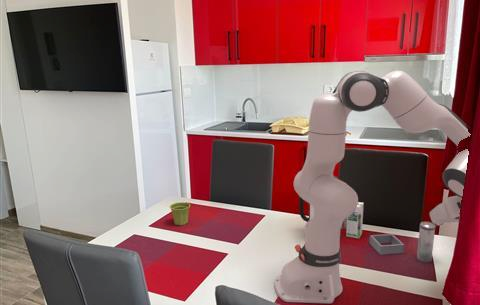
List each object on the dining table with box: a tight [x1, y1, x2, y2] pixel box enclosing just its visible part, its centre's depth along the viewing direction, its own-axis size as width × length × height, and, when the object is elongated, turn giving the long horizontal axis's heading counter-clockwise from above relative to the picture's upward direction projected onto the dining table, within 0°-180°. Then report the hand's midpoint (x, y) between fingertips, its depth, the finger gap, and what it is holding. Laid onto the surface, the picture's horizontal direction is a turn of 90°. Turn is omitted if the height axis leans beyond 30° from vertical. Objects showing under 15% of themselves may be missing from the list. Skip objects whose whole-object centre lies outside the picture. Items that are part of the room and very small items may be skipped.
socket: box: [368, 233, 406, 256], centre depth 151 cm, size 10×10×4 cm
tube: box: [416, 221, 437, 263], centre depth 141 cm, size 5×5×14 cm
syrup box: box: [345, 201, 364, 239], centre depth 162 cm, size 6×6×14 cm
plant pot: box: [169, 201, 191, 226], centre depth 178 cm, size 9×9×9 cm
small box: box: [341, 218, 347, 230], centre depth 171 cm, size 5×4×8 cm
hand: (451, 222), depth 126 cm, fingers open, 8 cm apart
